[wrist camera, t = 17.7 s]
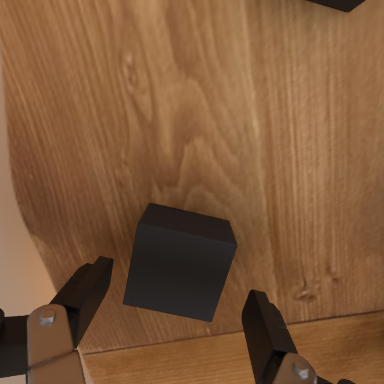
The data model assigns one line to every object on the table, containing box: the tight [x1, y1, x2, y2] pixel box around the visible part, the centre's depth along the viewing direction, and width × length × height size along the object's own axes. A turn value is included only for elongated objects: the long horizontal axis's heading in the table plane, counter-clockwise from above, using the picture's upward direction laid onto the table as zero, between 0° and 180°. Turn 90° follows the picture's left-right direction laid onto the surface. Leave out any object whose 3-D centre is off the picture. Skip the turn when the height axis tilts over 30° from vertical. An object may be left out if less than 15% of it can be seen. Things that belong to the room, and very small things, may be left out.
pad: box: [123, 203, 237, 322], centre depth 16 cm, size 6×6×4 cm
